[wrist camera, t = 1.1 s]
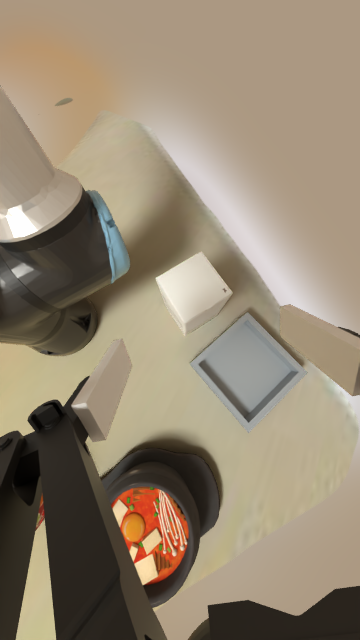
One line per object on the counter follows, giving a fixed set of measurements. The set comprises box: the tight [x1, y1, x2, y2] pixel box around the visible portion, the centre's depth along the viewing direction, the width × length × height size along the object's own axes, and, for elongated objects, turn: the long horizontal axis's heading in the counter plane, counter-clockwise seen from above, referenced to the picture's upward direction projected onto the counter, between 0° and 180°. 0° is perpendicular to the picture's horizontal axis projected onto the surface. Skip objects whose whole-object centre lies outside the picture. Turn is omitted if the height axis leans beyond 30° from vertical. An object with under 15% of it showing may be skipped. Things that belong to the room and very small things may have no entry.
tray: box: [189, 312, 308, 433], centre depth 37 cm, size 16×16×4 cm
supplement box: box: [156, 251, 233, 336], centre depth 34 cm, size 9×9×15 cm
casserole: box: [101, 448, 220, 608], centre depth 30 cm, size 25×19×8 cm
